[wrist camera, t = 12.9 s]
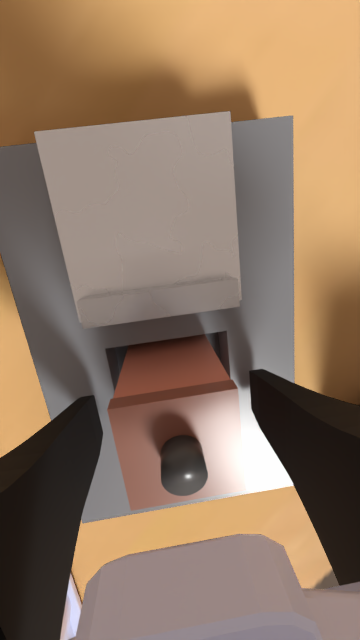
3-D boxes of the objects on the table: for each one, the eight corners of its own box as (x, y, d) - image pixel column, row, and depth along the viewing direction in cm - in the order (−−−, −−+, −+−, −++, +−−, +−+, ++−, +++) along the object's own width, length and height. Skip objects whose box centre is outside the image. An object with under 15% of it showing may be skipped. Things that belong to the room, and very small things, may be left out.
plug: (211, 397, 15) (255, 516, 8) (141, 408, 15) (127, 540, 8) (204, 330, 14) (248, 406, 7) (128, 342, 14) (100, 430, 7)
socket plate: (275, 452, 17) (294, 485, 15) (93, 483, 16) (82, 523, 14) (266, 142, 12) (293, 115, 10) (7, 170, 12) (-31, 150, 9)
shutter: (233, 294, 11) (250, 305, 9) (87, 315, 11) (71, 330, 9) (221, 127, 10) (239, 93, 8) (49, 146, 9) (17, 116, 7)
